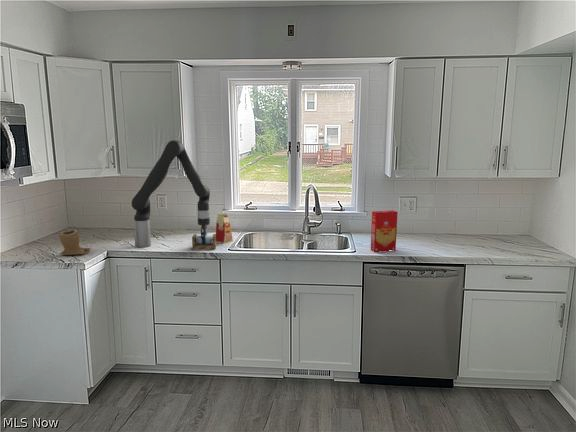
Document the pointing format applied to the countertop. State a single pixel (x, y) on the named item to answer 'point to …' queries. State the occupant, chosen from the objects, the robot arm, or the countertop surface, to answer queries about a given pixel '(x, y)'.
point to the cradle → (203, 246)
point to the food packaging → (383, 230)
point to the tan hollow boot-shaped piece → (72, 243)
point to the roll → (207, 239)
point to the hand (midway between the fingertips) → (204, 242)
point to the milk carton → (223, 229)
